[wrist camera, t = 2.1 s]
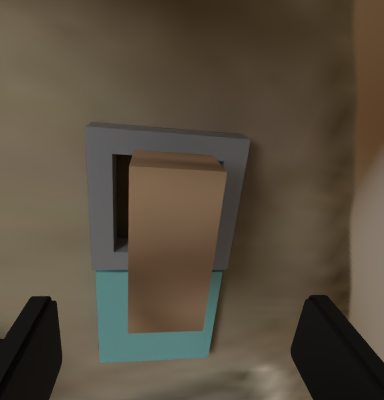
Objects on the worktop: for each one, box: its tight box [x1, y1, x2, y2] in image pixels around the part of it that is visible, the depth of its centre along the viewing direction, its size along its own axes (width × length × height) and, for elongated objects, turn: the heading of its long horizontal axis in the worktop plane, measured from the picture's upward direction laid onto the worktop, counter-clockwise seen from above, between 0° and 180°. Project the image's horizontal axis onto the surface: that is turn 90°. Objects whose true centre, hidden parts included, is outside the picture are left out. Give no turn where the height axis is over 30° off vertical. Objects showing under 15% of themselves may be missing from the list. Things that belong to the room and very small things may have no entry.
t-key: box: [128, 150, 227, 334], centre depth 16 cm, size 9×5×8 cm, turn 174°
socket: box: [85, 122, 251, 270], centre depth 19 cm, size 10×10×2 cm
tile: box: [96, 270, 223, 363], centre depth 24 cm, size 10×10×1 cm
